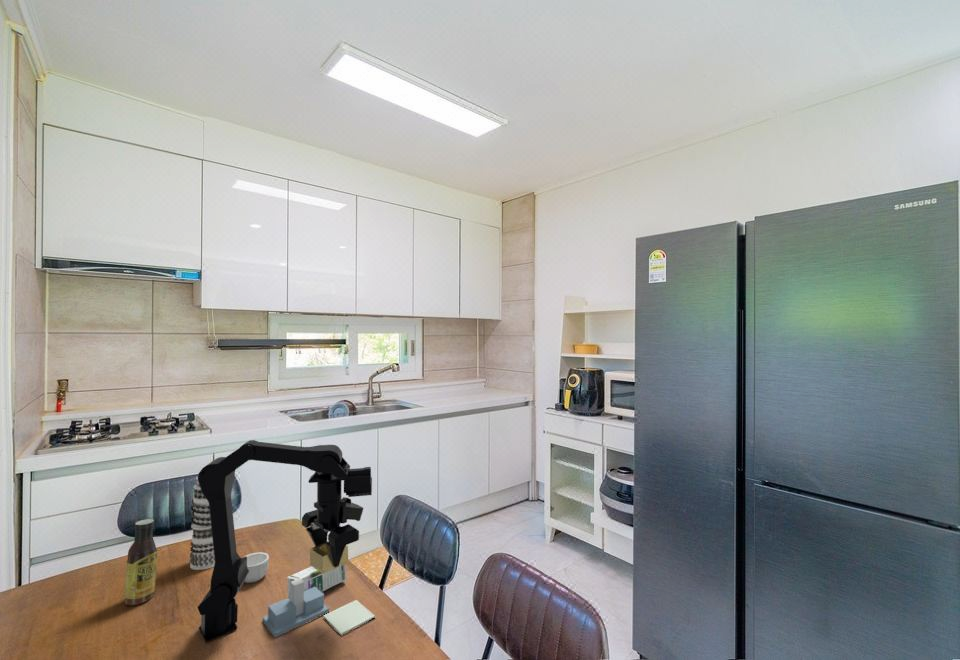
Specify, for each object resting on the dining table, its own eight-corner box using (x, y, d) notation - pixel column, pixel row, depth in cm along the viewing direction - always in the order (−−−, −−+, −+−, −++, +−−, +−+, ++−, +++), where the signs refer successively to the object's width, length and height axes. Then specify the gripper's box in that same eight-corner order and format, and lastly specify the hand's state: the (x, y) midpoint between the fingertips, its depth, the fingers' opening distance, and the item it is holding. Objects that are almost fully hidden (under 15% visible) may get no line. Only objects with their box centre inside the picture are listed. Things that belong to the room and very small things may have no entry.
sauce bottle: (137, 608, 107) (140, 529, 107) (117, 605, 108) (120, 526, 109) (161, 593, 113) (164, 518, 114) (142, 590, 115) (145, 516, 115)
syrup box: (347, 580, 120) (299, 604, 108) (334, 577, 123) (286, 600, 111) (345, 558, 120) (298, 580, 109) (333, 556, 124) (285, 577, 112)
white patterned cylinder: (191, 558, 131) (193, 477, 132) (225, 552, 135) (228, 473, 136) (185, 573, 123) (188, 486, 124) (222, 566, 127) (224, 482, 128)
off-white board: (341, 636, 98) (341, 633, 98) (323, 617, 105) (323, 615, 105) (375, 618, 105) (375, 615, 105) (356, 602, 111) (356, 599, 111)
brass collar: (323, 573, 101) (322, 556, 101) (310, 565, 105) (309, 548, 105) (348, 563, 105) (347, 546, 106) (335, 555, 110) (334, 539, 110)
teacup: (258, 586, 117) (259, 567, 117) (231, 585, 118) (232, 566, 118) (277, 567, 127) (277, 549, 127) (252, 566, 128) (252, 548, 128)
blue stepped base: (275, 637, 98) (276, 600, 98) (262, 621, 103) (263, 585, 103) (330, 611, 107) (331, 577, 107) (315, 597, 113) (316, 565, 113)
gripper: (378, 498, 105) (378, 562, 105) (340, 481, 118) (340, 538, 118) (336, 512, 97) (336, 581, 97) (300, 492, 110) (300, 553, 110)
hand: (329, 561), depth 105 cm, fingers closed on brass collar, 7 cm apart
